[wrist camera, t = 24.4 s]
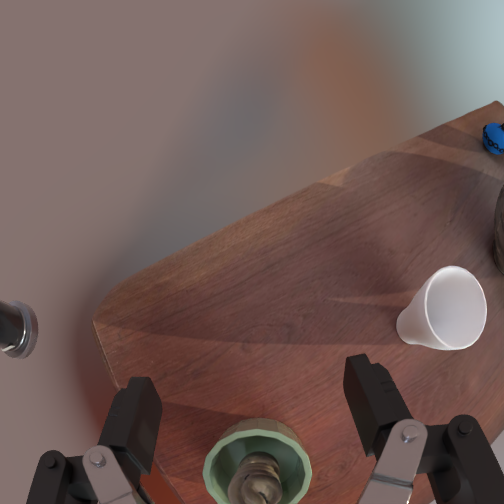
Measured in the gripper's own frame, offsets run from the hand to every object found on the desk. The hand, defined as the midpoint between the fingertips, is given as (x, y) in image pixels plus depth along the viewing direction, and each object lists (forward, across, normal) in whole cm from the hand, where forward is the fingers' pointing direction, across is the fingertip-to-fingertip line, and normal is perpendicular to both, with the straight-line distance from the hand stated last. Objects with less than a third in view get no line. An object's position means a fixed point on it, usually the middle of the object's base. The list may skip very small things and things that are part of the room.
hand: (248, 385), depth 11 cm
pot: (+13, +2, +31) cm, 34 cm away
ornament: (+51, -66, -6) cm, 83 cm away
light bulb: (+13, +2, +31) cm, 34 cm away
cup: (+25, -24, +20) cm, 40 cm away
